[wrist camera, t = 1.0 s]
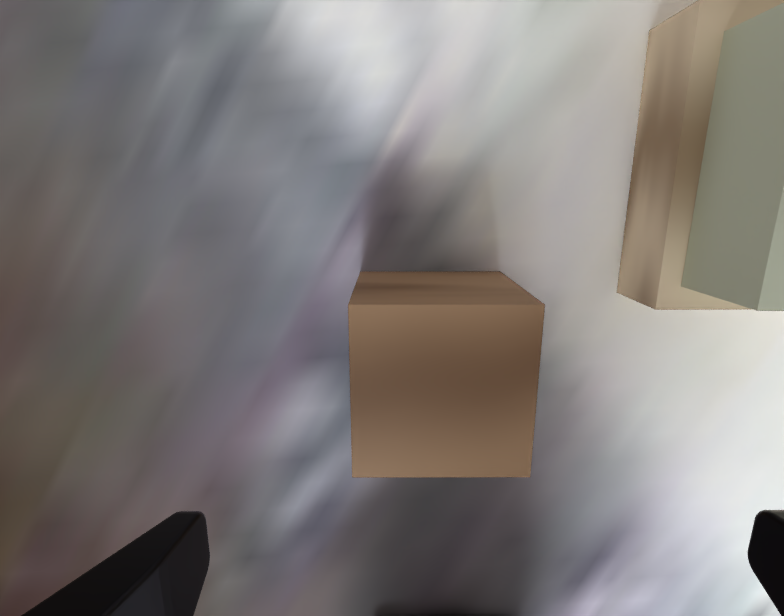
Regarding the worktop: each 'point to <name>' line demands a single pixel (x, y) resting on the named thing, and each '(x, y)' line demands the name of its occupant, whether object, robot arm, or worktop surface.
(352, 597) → the worktop surface
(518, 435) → the walnut cube
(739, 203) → the sage top block
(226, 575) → the worktop surface
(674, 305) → the birch base block
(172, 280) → the worktop surface
